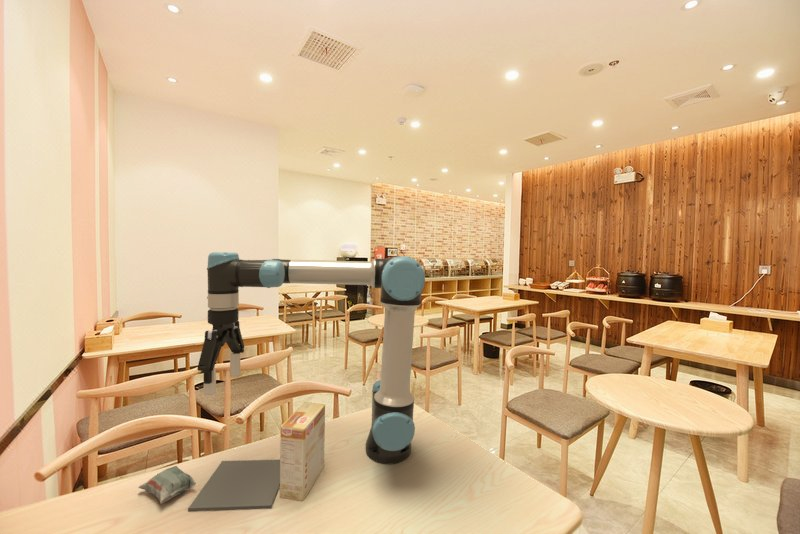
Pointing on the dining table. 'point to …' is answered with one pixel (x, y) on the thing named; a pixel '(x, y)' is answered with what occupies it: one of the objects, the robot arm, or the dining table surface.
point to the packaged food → (168, 484)
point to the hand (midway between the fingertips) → (223, 384)
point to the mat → (240, 486)
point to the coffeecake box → (301, 450)
